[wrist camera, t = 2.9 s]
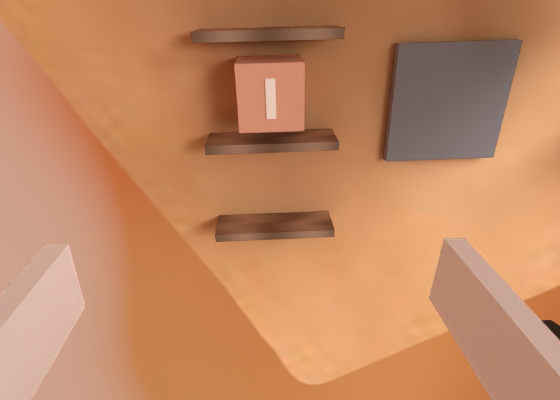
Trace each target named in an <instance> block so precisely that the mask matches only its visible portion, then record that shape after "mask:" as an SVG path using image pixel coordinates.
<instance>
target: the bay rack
mask: <svg viewBox="0 0 560 400" xmlns="http://www.w3.org/2000/svg"><path fill="white" fill-rule="evenodd" d="M344 31H345V28H343V27H339V26H305V27H268V28H231V29H198V30H195V31H192V32H191V36H192V43H213V42H249V41H285V40H321V39H344ZM328 150H339V141H338V139H337V137H336V136H335V134H334V132H333V130H332V129H315V130H304V131H290V132H260V133H239V132H226V133H210V135H209V137H208V139H207V142H206V144H205V154H206V155H215V154H243V153H271V152H300V151H328ZM319 237H334V227H333V224H332V221H331V218H330V215H329V212H328V211H319V212H294V213H269V214H243V215H219V219H218V224H217V229H216V233H215V238H216V242H222V241H246V240H270V239H295V238H319Z"/></svg>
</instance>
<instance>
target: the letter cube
mask: <svg viewBox="0 0 560 400" xmlns="http://www.w3.org/2000/svg"><path fill="white" fill-rule="evenodd" d="M234 69H235V82H236V96H237V110H238V124H239V133H260V132H290V131H304V124H305V62H304V60H303V59H302V58H301V57H300V55H266V56H238V58H237V60H236V62H235V64H234Z"/></svg>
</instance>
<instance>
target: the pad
mask: <svg viewBox="0 0 560 400" xmlns="http://www.w3.org/2000/svg"><path fill="white" fill-rule="evenodd" d="M521 44H522V40H484V41H448V42H413V43H396V46H395V55H394V64H393V73H392V82H391V92H390V101H389V110H388V119H387V129H386V138H385V147H384V156H383V158H384V159H385V160H386V161H408V160H436V159H463V158H491V157H493V156H494V152H495V148H496V144H497V140H498V136H499V132H500V128H501V124H502V120H503V116H504V112H505V108H506V104H507V100H508V96H509V92H510V88H511V84H512V80H513V76H514V72H515V68H516V64H517V60H518V56H519V52H520V48H521Z"/></svg>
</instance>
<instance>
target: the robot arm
mask: <svg viewBox="0 0 560 400" xmlns="http://www.w3.org/2000/svg"><path fill="white" fill-rule="evenodd" d="M429 299H430V300H431V302H432V304H433V305H434V307H435V309H436V310H437V312H438V313H439V315H440V317H441V318H442V320H443V322H444V323H445V325H446V327H447V328H448V330H449V331H450V333H451V335H452V336H453V338H454V340H455V341H456V343H457V345H458V346H459V348H460V349H461V351H462V353H463V354H464V356H465V358H466V359H467V361H468V362H469V364H470V366H471V367H472V369H473V371H474V372H475V374H476V376H477V377H478V379H479V380H480V382H481V384H482V385H483V387H484V389H485V390H486V392H487V394H488V395H489V397H490V399H491V400H560V326H559V325H557V324H556V323H555V322H553V321H551V320H543V321H541V320H540V319H539V318H538V316H537V315H536V314H535V313H534V312H533V311H532V310H531V309H530V308H529V307H528V306H527V305H526V304H525V303H524V301H523V300H522V299H521V298H520V297H519V296H518V295H517V294H516V293H515V292H514V291H513V290H512V289H511V287H510V286H509V285H508V284H507V283H506V282H505V281H504V280H503V279H502V278H501V277H500V276H499V275H498V273H497V272H496V271H495V270H494V269H493V268H492V267H491V266H490V265H489V264H488V263H487V262H486V261H485V260H484V258H483V257H482V256H481V255H480V254H479V253H478V252H477V251H476V250H475V249H474V248H473V247H472V246H471V244H470V243H469V242H468V241H467V240H466V239H465V238H444V241H443V245H442V249H441V253H440V257H439V261H438V265H437V269H436V273H435V277H434V281H433V284H432V288H431V292H430V296H429ZM84 308H85V303H84V299H83V295H82V292H81V288H80V284H79V281H78V277H77V273H76V269H75V266H74V262H73V258H72V255H71V251H70V248H69V244H45V245H44V246H43V247H42V248H41V249H40V251H38V253H37V254H36V255H35V256H34V257H33V258H32V259H31V260H30V261H29V262H28V264H27V265H26V266H25V267H24V268H23V269H22V270H21V271H20V272H19V274H18V275H17V276H16V277H15V278H14V279H13V280H12V281H11V282H10V283H9V285H8V286H7V287H6V288H5V289H4V290H3V291H2V292H1V294H0V400H32V398H33V397H34V395H35V393H36V391H37V390H38V388H39V386H40V384H41V382H42V381H43V379H44V377H45V376H46V374H47V372H48V370H49V369H50V367H51V365H52V364H53V362H54V360H55V358H56V357H57V355H58V353H59V351H60V350H61V348H62V346H63V344H64V343H65V341H66V339H67V337H68V336H69V334H70V332H71V330H72V329H73V327H74V325H75V324H76V322H77V320H78V318H79V317H80V315H81V313H82V311H83V309H84Z"/></svg>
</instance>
